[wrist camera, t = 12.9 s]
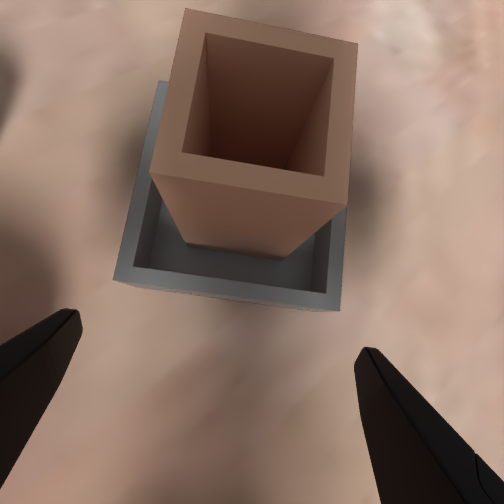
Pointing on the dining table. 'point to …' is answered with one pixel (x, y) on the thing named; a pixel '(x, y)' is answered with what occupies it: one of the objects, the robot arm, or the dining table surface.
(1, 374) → the robot arm
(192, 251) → the grey square tray
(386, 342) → the dining table surface
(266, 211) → the terracotta bin
